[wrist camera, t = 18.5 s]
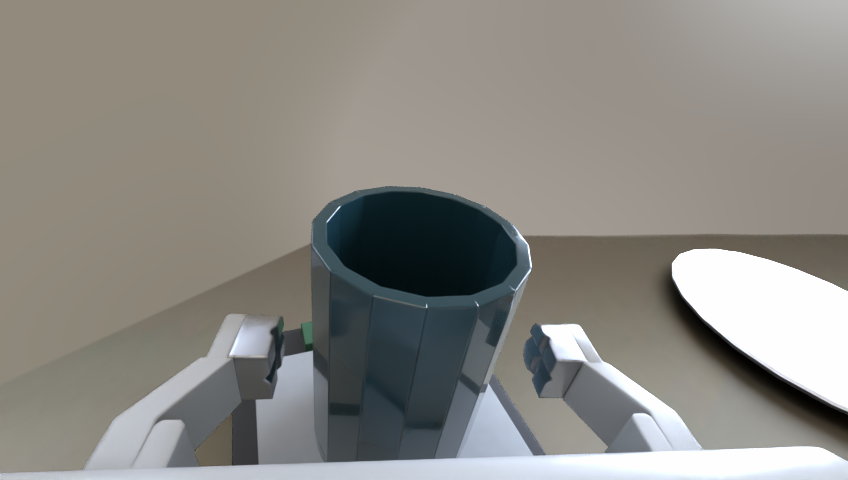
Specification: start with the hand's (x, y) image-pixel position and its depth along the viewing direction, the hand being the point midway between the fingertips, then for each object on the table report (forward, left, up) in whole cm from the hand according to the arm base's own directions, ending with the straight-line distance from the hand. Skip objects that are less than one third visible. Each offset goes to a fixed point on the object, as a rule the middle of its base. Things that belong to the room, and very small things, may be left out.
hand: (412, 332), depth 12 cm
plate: (+1, +36, -10) cm, 38 cm away
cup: (-1, 0, -7) cm, 7 cm away
